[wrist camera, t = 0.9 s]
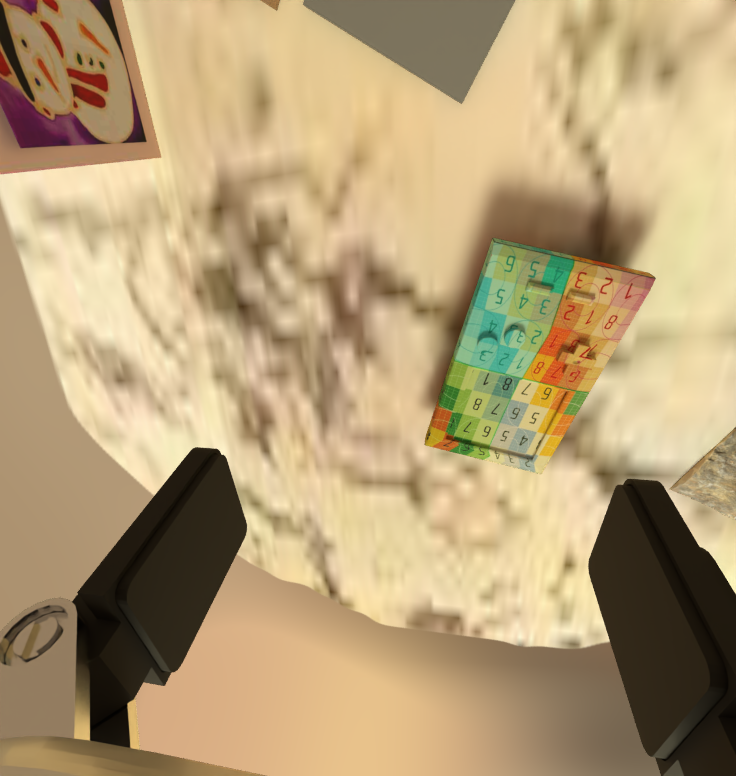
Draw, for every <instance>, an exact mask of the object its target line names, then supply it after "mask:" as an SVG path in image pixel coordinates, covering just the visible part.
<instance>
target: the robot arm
mask: <svg viewBox="0 0 736 776" xmlns="http://www.w3.org/2000/svg"><path fill="white" fill-rule="evenodd" d="M246 532H247V523H246V520H245V517H244V513H243V510H242V507H241V504H240V501H239V497H238V494H237V491H236V488H235V485H234V481H233V478H232V475H231V472H230V469H229V465H228V462H227V459H226V457H225V456H224V455H221V453H220V451H219V450H218V449H212V448H198V447H196V448H193V449H192V450H191V451H190V452H189V453H188V455H187V456H186V457H185V458H184V460H183V461H182V462H181V463H180V465H179V466H178V467H177V468H176V470H175V471H174V472H173V473H172V475H171V476H170V477H169V478H168V480H167V481H166V482H165V483H164V485H163V486H162V487H161V488H160V490H159V491H158V492H157V493H156V495H155V496H154V497H153V498H152V500H151V501H150V502H149V504H148V505H147V506H146V507H145V508H144V510H143V511H142V512H141V513H140V515H139V516H138V517H137V519H136V520H135V521H134V522H133V523H132V525H131V526H130V527H129V529H128V530H127V531H126V532H125V533H124V535H123V536H122V537H121V539H120V540H119V541H118V542H117V544H116V545H115V546H114V547H113V549H112V550H111V551H110V552H109V553H108V555H107V556H106V557H105V559H104V560H103V561H102V562H101V563H100V565H99V566H98V567H97V569H96V570H95V571H94V572H93V574H92V575H91V576H90V577H89V578H88V580H87V581H86V582H85V583H84V585H83V586H82V587H81V588H80V590H79V591H78V592H77V593H78V595H77V596H76V597H75V599H74V600H73V601H72V602H71V601H70V600H68V599H64V598H53V599H48V600H45V601H42V602H39V603H37V604H35V605H33V606H31V607H29V608H27V609H25V610H24V611H22V612H21V613H20V614H19V615H17V616H16V617H15V618H13V619H12V620H11V621H10V622H9V623H8V624H7V625H6V626H5V627H4V628H3V629H2V630H1V631H0V776H265V775H260V774H256V773H250V772H246V771H241V770H236V769H232V768H227V767H222V766H217V765H212V764H208V763H203V762H198V761H193V760H188V759H184V758H179V757H174V756H169V755H164V754H159V753H154V752H149V751H143V750H140V745H139V733H138V722H137V711H136V701H135V700H136V699H135V696H136V695H137V693H138V691H139V689H140V687H141V685H142V684H143V682H145V683H150V684H156V685H161V686H165V684H166V682H167V680H168V678H169V676H170V674H171V672H175V671H177V670H178V669H179V667H180V666H181V664H182V663H183V661H184V658H185V657H186V655H187V652H188V650H189V648H190V647H191V644H192V642H193V640H194V638H195V636H196V634H197V632H198V630H199V628H200V626H201V624H202V622H203V620H204V618H205V616H206V614H207V612H208V610H209V608H210V606H211V604H212V602H213V600H214V598H215V596H216V594H217V592H218V590H219V588H220V586H221V584H222V582H223V580H224V578H225V576H226V574H227V572H228V570H229V568H230V566H231V564H232V562H233V560H234V558H235V556H236V554H237V552H238V550H239V548H240V546H241V544H242V542H243V540H244V538H245V536H246ZM588 567H589V575H590V579H591V582H592V585H593V588H594V591H595V595H596V598H597V601H598V604H599V607H600V611H601V614H602V617H603V620H604V623H605V627H606V630H607V633H608V636H609V639H610V643H611V646H612V649H613V652H614V655H615V658H616V662H617V665H618V668H619V671H620V675H621V678H622V681H623V684H624V687H625V690H626V694H627V697H628V700H629V703H630V707H631V710H632V713H633V716H634V719H635V723H636V726H637V729H638V732H639V735H640V738H641V742H642V744H643V747H644V749H645V751H646V752H647V754H648V755H649V756H651V757H655V758H656V761H657V764H658V767H659V770H660V773H661V776H736V594H735V592H734V591H733V589H732V588H731V586H730V584H729V583H728V581H727V579H726V578H725V576H724V574H723V573H722V571H721V570H720V568H719V566H718V565H717V563H716V561H715V560H714V559H713V557H712V556H711V555H710V553H709V552H708V551H706V550H705V549H703V548H701V547H699V545H698V544H697V542H696V540H695V539H694V537H693V535H692V533H691V532H690V530H689V528H688V527H687V525H686V523H685V522H684V520H683V518H682V517H681V515H680V513H679V512H678V510H677V508H676V507H675V505H674V503H673V502H672V500H671V498H670V497H669V495H668V493H667V491H666V490H665V488H664V486H663V485H662V484H661V483H660V482H658V481H652V480H639V479H627V480H626V481H625V483H624V484H623V485H617V486H616V488H615V490H614V493H613V495H612V498H611V501H610V504H609V506H608V509H607V512H606V515H605V517H604V520H603V523H602V526H601V528H600V531H599V534H598V536H597V539H596V542H595V545H594V547H593V550H592V553H591V556H590V558H589V564H588Z"/></svg>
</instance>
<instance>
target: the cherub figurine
mask: <svg viewBox="0 0 736 776" xmlns="http://www.w3.org/2000/svg"><path fill="white" fill-rule="evenodd" d="M670 489H671V490H672V491H675V492H677V493H680V494H682V495H685V496H688V497H690V498H691V499H693V500H696V501H698V502H701V503H702V504H704V505H706V506H709V507H712V508H714V509H715V510H716V511H718V512H719V513H721V514H722V515H726V516H728V517H734V519H735V520H736V428H735V429H734V430H733V431H731V432H730V433H729V434H728V435H727V436H726V437H725V438H724V439H723V440H722V441H721V442H720V443H719V444H717V445H716V446H715V447H714V448H713V449H712V450H711V451H710V452H709V453H708V454H707V455H706V456H704V457H703V458H702V459H701V460H700V461H699V462H698V463H697V464H696V465H695V466H694V467H693V468H692V469H690V470H689V471H688V472H687V473H686V474H685V475H684V476H683V477H682V478H681V479H680V480H679V481H678V482H677V483H675V484H674V485H673V486H672V487H671V488H670Z"/></svg>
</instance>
